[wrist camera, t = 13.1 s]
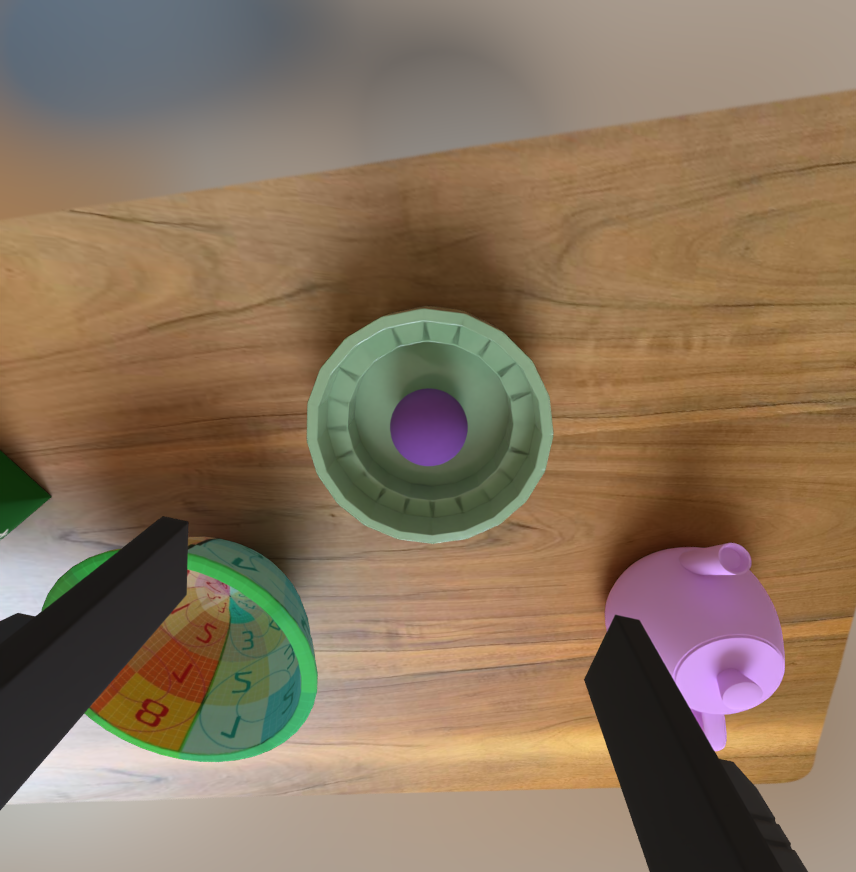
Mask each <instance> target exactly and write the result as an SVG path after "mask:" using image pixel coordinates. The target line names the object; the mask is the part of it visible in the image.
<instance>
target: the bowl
mask: <svg viewBox="0 0 856 872" xmlns="http://www.w3.org/2000/svg"><path fill="white" fill-rule="evenodd" d="M121 549H122V548H121ZM121 549H115V550H110V551H107V552H104V553H101V554H98V555H95V556H92V557H89V558H88V559H86V560H84V561H82V562H80V563H79V564H77V565H75V566H73V567H72V568H71V569H70V570H68V571H67V572H66V573H65V574H64V575H63V576H62V577H60V578H59V579H58V581H57V582H56V583H55V585H54V586H53V587H52V589H51V590H50V592H49V593H48V595H47V598H46V600H45V603H44V605H43V607H42V611H43V610H44V609H46V608H47V607H48V606H49V605H51V604H52V603H53V602H54V601H56V600H57V599H58V598H60V597H61V596H62V595H63V594H65V593H66V592H67V591H68V590H70V589H71V588H72V587H73V586H75V585H76V584H77V583H79V582H80V581H81V580H82V579H84V578H85V577H86V576H87V575H89V574H90V573H91V572H93V571H94V570H95V569H96V568H98V567H99V566H100V565H101V564H103V563H104V562H105V561H107V560H108V559H109V558H110V557H112V556H113V555H114V554H115V553H117V552H118V551H119V550H121ZM317 677H318V674H317V667H316V661H315V654H314V648H313V642H312V638H311V635H310V628H309V623H308V618H307V615H306V612H305V609H304V607H303V604H302V602H301V599H300V596H299V594H298V593H297V591H296V589H295V588H294V586H293V584H292V583H291V582H290V580H289V579H288V578H287V577H286V575H285V574H284V573H283V572H282V571H281V570H280V569H279V568H278V567H277V566H276V565H275V564H274V563H273V562H271V561H270V560H269V559H267V558H266V557H264V556H263V555H262V554H260V553H258V552H256V551H254V550H252V549H251V548H248V547H246V546H243V545H241V544H238V543H235V542H231V541H227V540H223V539H220V538H212V537H188V565H187V595H186V596H185V598H184V599H183V600H182V601H181V602H180V603H179V604H178V606H177V607H176V608H175V609H174V610H173V611H172V613H171V614H170V615H169V616H168V617H167V618H166V620H165V621H164V622H163V623H162V624H161V625H160V626H159V628H158V629H157V630H156V631H155V632H154V633H153V635H152V636H151V637H150V638H149V639H148V640H147V641H146V643H145V644H144V645H143V646H142V647H141V648H140V650H139V651H138V652H137V653H136V654H135V655H134V656H133V658H132V659H131V660H130V661H129V662H128V663H127V665H126V666H125V667H124V668H123V669H122V670H121V671H120V673H119V674H118V675H117V676H116V677H115V678H114V680H113V681H112V682H111V683H110V684H109V685H108V687H107V688H106V689H105V690H104V691H103V692H102V693H101V695H100V696H99V697H98V698H97V699H96V700H95V702H94V703H93V704H92V705H91V706H90V707H89V708H88V710H87V711H86V712H85V714H86V715H87V716H88V717H89V718H90V719H92V720H93V721H95V722H96V723H97V724H99V725H100V726H101V727H103V728H104V729H106V730H107V731H109V732H111V733H112V734H114V735H116V736H118V737H119V738H121V739H123V740H125V741H127V742H129V743H132V744H134V745H136V746H138V747H140V748H143V749H146V750H149V751H152V752H155V753H158V754H161V755H165V756H169V757H173V758H178V759H183V760H191V761H199V762H223V761H234V760H240V759H245V758H249V757H253V756H256V755H259V754H262V753H264V752H267V751H270V750H272V749H273V748H275V747H277V746H279V745H280V744H282V743H284V742H285V741H286V740H288V739H289V738H290V737H291V736H292V735H294V734H295V733H296V732H297V731H298V730H299V728H300V727H301V726H302V725H303V723H304V722H305V721H306V719H307V717H308V715H309V713H310V711H311V709H312V707H313V705H314V701H315V697H316V693H317Z"/></svg>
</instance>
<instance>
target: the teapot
mask: <svg viewBox="0 0 856 872" xmlns="http://www.w3.org/2000/svg"><path fill="white" fill-rule="evenodd" d="M750 567H751V557H750V555H749V553H748V552H747V550H746V549H745V548H744V547H742V546H741V545H739V544H736V543H726V544H722V545H717V546H712V547H707V548H700V547H679V548H672V549H666V550H662V551H658V552H655V553H652V554H649V555H647V556H645V557H643V558H641V559H639V560H638V561H636V562H635V563H633V564H632V565H631V566H630V567H628V568H627V569H626V570H625V571H624V572H623V573H622V575H621V576H620V577H619V578H618V579H617V581H616V582H615V584H614V586H613V587H612V589H611V591H610V593H609V596H608V598H607V602H606V607H605V624H606V628H607V631H608V629H609V626H610V624H611V622H612V620H613V618H614V616H615V615H620V616H624V617H629V618H633V619H638V620H640V622H641V623H642V625H643V627H644V629H645V630H646V632H647V634H648V636H649V637H650V639H651V641H652V643H653V644H654V646H655V648H656V650H657V651H658V653H659V655H660V657H661V658H662V660H663V662H664V664H665V665H666V667H667V669H668V671H669V672H670V674H671V676H672V678H673V679H674V681H675V683H676V685H677V686H678V688H679V690H680V692H681V693H682V695H683V697H684V699H685V700H686V702H687V704H688V706H689V707H690V709H691V711H692V713H693V715H694V716H695V718H696V720H697V722H698V723H699V725H700V727H701V729H702V730H703V732H704V734H705V736H706V737H707V739H708V741H709V743H710V744H711V746H712V748H713V750H714V751H719V750H721V749H723V748H724V747H725V744H726V724H725V717H724V714H732V713H738V712H741V711H745V710H748V709H750V708H753V707H755V706H757V705H759V704H760V703H762V702H763V701H765V700H766V699H768V698H769V697H770V696H771V695H772V694H773V693H774V692H775V691H776V689H777V688H778V686H779V684H780V682H781V680H782V678H783V675H784V669H785V653H784V644H783V637H782V631H781V626H780V622H779V619H778V615H777V612H776V610H775V608H774V605H773V603H772V601H771V599H770V597H769V595H768V594H767V592H766V590H765V589H764V587H763V586H762V585H761V583H760V582H759V581H758V579H757V578H756V577H755V575H754V574H753V573H752V572H751V571H750V570H749V569H750Z"/></svg>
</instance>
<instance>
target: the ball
mask: <svg viewBox="0 0 856 872" xmlns="http://www.w3.org/2000/svg"><path fill="white" fill-rule="evenodd" d="M467 432H468V422H467V417H466V414H465V412H464V410H463V408H462V406H461V405H460V403H459V402H458V401H457V400H456V399H455V398H454V397H453V396H451V395H450V394H448V393H446V392H444V391H442V390H438V389H432V388H426V389H420V390H416V391H414V392H411V393H410V394H408V395H406V396H405V397H404V398H403V399H402V400H401V401H400V402H399V403H398V404H397V406H396V407H395V409H394V411H393V413H392V417H391V421H390V433H391V438H392V441H393V443H394V445H395V447H396V449H397V450H398V451H399V453H400V454H401V455H402V456H403V457H404V458H406V459H407V460H409V461H410V462H412V463H415V464H418V465H422V466H436V465H440V464H443V463H445V462H447V461H449V460H451V459H452V458H453V457H455V456H456V455H457V454H458V453H459V451H460V450H461V448H462V447H463V445H464V443H465V440H466V437H467Z"/></svg>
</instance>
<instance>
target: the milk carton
mask: <svg viewBox="0 0 856 872" xmlns="http://www.w3.org/2000/svg"><path fill="white" fill-rule="evenodd" d="M50 498H51V496H50V495H49V494H48V493H47V492H46V491H45V490H43V489H42V488H41V487H40V486H39V485H38V484H37V483H36V482H35V481H34V480H32V479H31V478H30V477H29V476H28V475H27V474H26V473H25V472H24V471H23V470H21V469H20V468H19V467H18V466H17V465H16V464H15V463H14V462H13V461H12V460H10V459H9V458H8V457H7V456H6V455H5V454H4V453H3V452H2V451H1V450H0V540H1V539H3V538H4V537H5V536H6V535H7V534H9V533H10V532H11V531H12V530H13V529H15V528H16V527H17V526H18V525H19V524H20V523H22V522H23V521H24V520H25V519H26V518H27V517H29V516H30V515H31V514H32V513H33V512H35V511H36V510H37V509H38V508H39V507H40V506H42V505H43V504H44V503H45V502H46V501H47V500H49V499H50Z"/></svg>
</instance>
